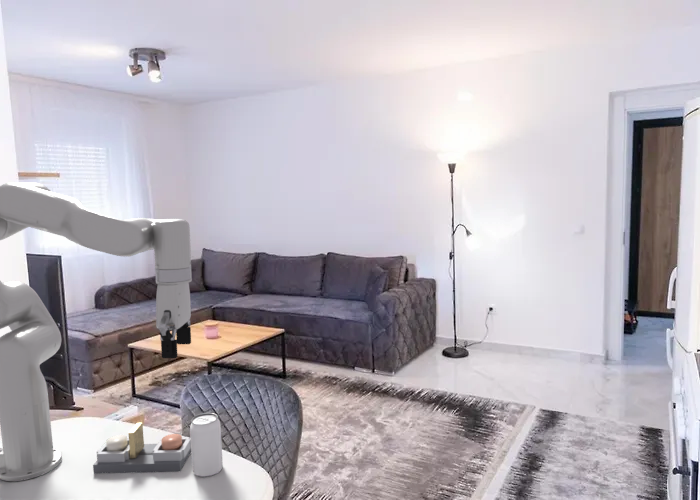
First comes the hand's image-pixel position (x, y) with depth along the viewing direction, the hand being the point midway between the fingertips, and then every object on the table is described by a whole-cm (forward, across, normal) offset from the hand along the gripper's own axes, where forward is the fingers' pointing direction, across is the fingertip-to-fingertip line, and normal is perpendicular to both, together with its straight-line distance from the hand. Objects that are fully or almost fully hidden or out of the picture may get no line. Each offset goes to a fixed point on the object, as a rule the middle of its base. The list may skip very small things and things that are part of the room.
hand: (177, 350), depth 118 cm
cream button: (+23, +1, -14) cm, 27 cm away
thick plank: (+24, +1, -10) cm, 26 cm away
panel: (+26, +1, -8) cm, 27 cm away
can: (+26, +5, +7) cm, 27 cm away
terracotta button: (+23, +1, -2) cm, 23 cm away
